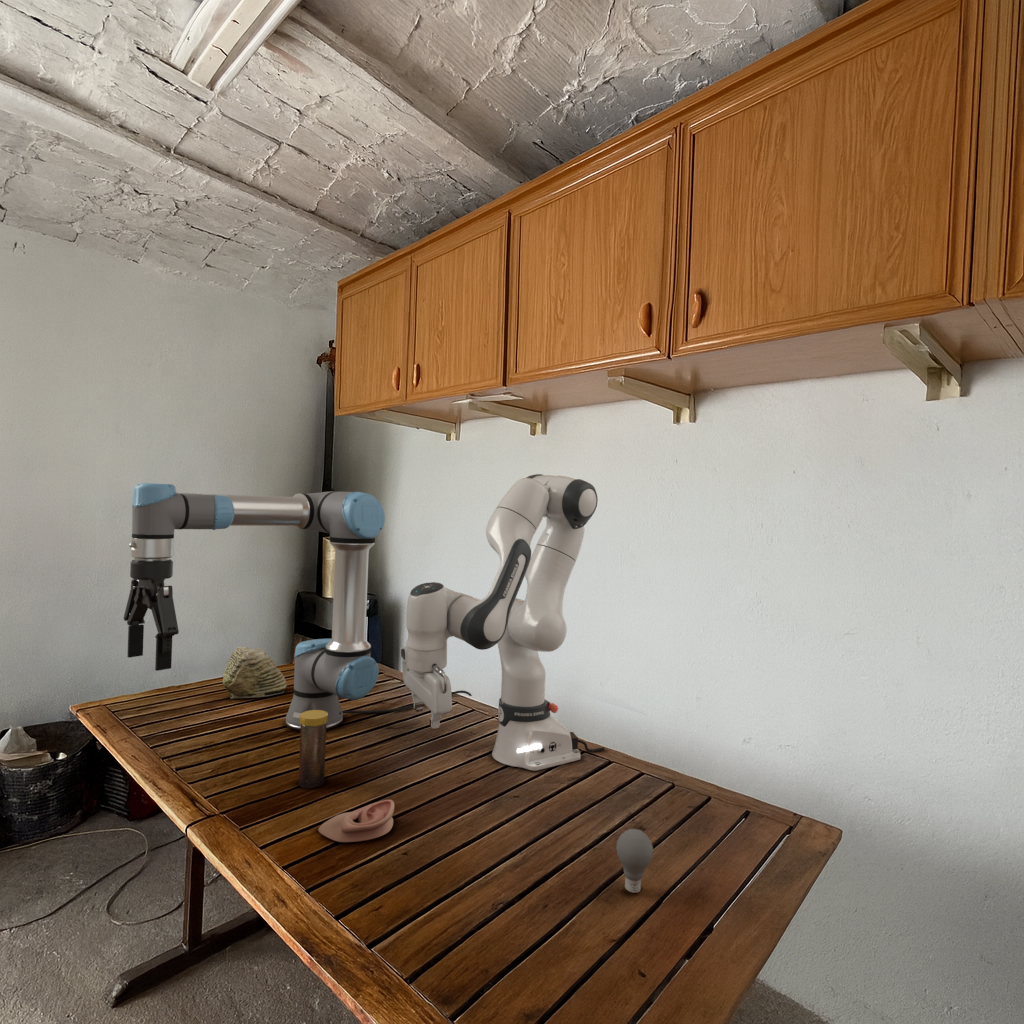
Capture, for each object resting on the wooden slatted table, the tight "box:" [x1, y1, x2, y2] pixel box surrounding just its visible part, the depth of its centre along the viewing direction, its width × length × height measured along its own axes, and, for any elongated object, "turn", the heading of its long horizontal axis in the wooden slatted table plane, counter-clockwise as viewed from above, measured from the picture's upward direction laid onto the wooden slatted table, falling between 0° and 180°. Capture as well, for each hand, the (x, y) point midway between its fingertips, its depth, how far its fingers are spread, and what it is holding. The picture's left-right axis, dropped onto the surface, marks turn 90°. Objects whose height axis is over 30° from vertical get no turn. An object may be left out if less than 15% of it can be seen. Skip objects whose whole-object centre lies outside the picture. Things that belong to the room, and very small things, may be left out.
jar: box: [298, 722, 327, 789], centre depth 140 cm, size 5×5×15 cm
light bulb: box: [615, 828, 654, 894], centre depth 106 cm, size 6×6×10 cm
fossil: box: [222, 646, 288, 699], centre depth 198 cm, size 9×18×15 cm, turn 132°
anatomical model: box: [317, 799, 395, 843], centre depth 122 cm, size 13×4×12 cm
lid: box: [299, 710, 328, 726], centre depth 140 cm, size 6×6×2 cm
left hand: (148, 662), depth 129 cm, fingers open, 13 cm apart
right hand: (426, 718), depth 140 cm, fingers open, 8 cm apart
